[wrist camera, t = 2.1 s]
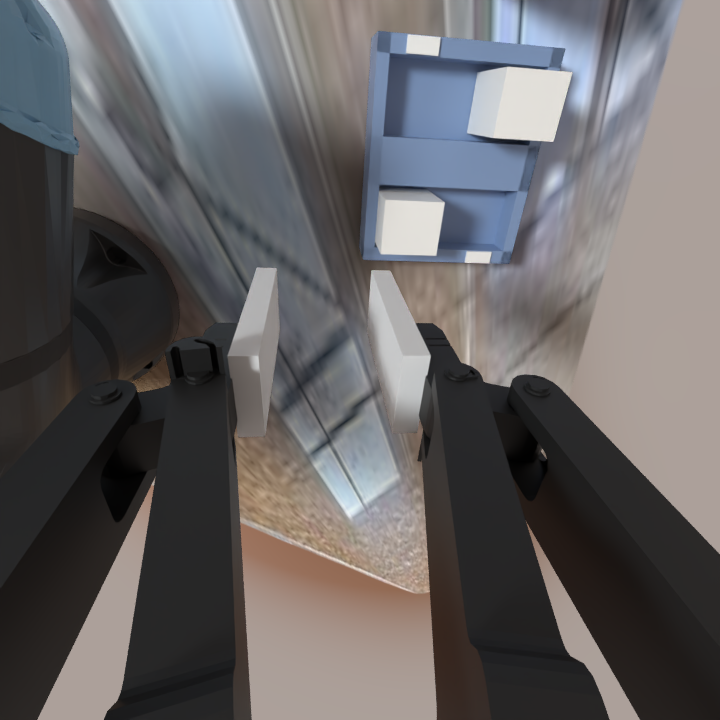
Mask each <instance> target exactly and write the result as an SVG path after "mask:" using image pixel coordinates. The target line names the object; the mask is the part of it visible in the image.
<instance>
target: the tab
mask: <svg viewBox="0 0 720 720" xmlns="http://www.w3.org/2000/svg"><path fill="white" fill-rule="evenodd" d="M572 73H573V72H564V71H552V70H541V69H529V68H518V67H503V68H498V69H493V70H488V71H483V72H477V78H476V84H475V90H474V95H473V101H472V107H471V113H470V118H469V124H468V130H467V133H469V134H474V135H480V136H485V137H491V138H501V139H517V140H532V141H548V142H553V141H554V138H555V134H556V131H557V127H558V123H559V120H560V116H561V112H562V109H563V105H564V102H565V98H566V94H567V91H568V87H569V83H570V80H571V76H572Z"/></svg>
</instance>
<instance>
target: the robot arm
mask: <svg viewBox="0 0 720 720" xmlns="http://www.w3.org/2000/svg"><path fill="white" fill-rule="evenodd" d="M78 150H79V141H78V140H77V139H76V137H75V136H74V135H73V119H72V103H71V87H70V71H69V58H68V53H67V49H66V45H65V42H64V39H63V37H62V35H61V33H60V31H59V29H58V27H57V25H56V23H55V22H54V20H53V19H52V17H51V16H50V15H49V13H48V12H47V11H46V10H45V8H44V7H43V6H42V5H41V4H40V2H39V1H38V0H0V720H37V719H38V717H39V715H40V713H41V710H42V709H43V707H44V705H45V702H46V700H47V698H48V696H49V694H50V692H51V690H52V688H53V686H54V684H55V682H56V680H57V678H58V676H59V674H60V672H61V669H62V668H63V665H64V663H65V661H66V659H67V657H68V655H69V653H70V651H71V649H72V647H73V645H74V643H75V641H76V638H77V637H78V635H79V632H80V630H81V628H82V626H83V624H84V622H85V620H86V618H87V616H88V614H89V612H90V610H91V607H92V606H93V604H94V601H95V600H96V597H97V595H98V593H99V591H100V589H101V587H102V585H103V583H104V581H105V579H106V577H107V575H108V573H109V571H110V569H111V567H112V565H113V563H114V561H115V558H116V556H117V554H118V552H119V550H120V548H121V546H122V544H123V542H124V540H125V538H126V536H127V534H128V532H129V530H130V528H131V525H132V523H133V521H134V519H135V517H136V515H137V513H138V511H139V509H140V507H141V505H142V503H143V501H144V499H145V497H146V495H147V493H148V490H149V488H150V486H151V484H152V482H153V480H154V478H155V476H156V478H155V484H154V490H153V497H152V503H151V510H150V516H149V523H148V529H147V535H146V541H145V548H144V554H143V560H142V567H141V573H140V579H139V586H138V592H137V598H136V605H135V611H134V617H133V624H132V631H131V637H130V643H129V649H128V656H127V662H126V668H125V674H124V681H123V686H122V690H121V693H120V696H119V698H118V701H117V702H116V703H115V704H114V705H113V706H112V707H111V708H110V709H109V710H108V711H107V713H106V716H105V718H104V720H252V719H251V702H250V685H249V667H248V650H247V633H246V618H245V617H246V616H245V598H244V582H243V564H242V548H241V531H240V513H239V495H238V478H237V461H236V446H235V439H234V433H235V429H236V425H237V432H238V437H265V434H266V427H267V420H268V413H269V405H270V398H271V391H272V384H273V376H274V369H275V362H276V354H277V347H278V340H279V333H280V323H279V303H278V283H277V268H257V269H256V272H255V275H254V278H253V281H252V284H251V287H250V290H249V293H248V296H247V299H246V302H245V305H244V308H243V311H242V314H241V317H240V320H239V323H215V324H214V325H212V326H211V327H210V328H208V329H207V330H206V331H205V333H204V335H203V337H190V338H184V339H181V340H178V341H176V342H174V343H172V341H173V339H174V337H175V335H176V332H177V329H178V324H179V304H178V298H177V294H176V291H175V288H174V285H173V283H172V281H171V279H170V277H169V275H168V273H167V271H166V270H165V268H164V267H163V265H162V264H161V262H160V261H159V260H158V258H157V257H156V256H155V255H154V254H153V253H152V251H151V250H150V249H149V248H148V247H147V246H146V245H145V244H143V243H142V242H141V241H140V240H139V239H138V238H137V237H135V236H134V235H133V234H131V233H130V232H129V231H127V230H126V229H124V228H122V227H121V226H119V225H118V224H116V223H114V222H112V221H110V220H108V219H106V218H104V217H102V216H99V215H97V214H94V213H91V212H88V211H85V210H81V209H77V208H73V172H74V155H78ZM367 333H368V337H369V341H370V345H371V349H372V353H373V358H374V362H375V366H376V370H377V374H378V378H379V382H380V386H381V390H382V394H383V398H384V402H385V406H386V410H387V414H388V418H389V422H390V426H391V430H392V433H417V430H418V425H419V419H420V421H421V424H422V426H423V434H422V440H421V445H420V450H419V456H418V461H421V460H422V467H423V483H424V500H425V517H426V534H427V550H428V567H429V584H430V600H431V616H432V634H433V651H434V667H435V684H436V701H437V720H609V717H608V714H607V711H606V708H605V705H604V703H603V699H602V697H601V694H600V692H599V689H598V687H597V685H596V682H595V680H594V678H593V676H592V674H591V673H590V672H589V671H588V669H587V668H586V666H585V665H584V663H582V662H580V661H578V660H576V659H574V658H573V657H571V656H570V655H569V653H568V652H567V651H566V649H565V646H564V644H563V641H562V639H561V635H560V632H559V629H558V626H557V622H556V619H555V616H554V612H553V609H552V606H551V602H550V599H549V596H548V593H547V590H546V586H545V583H544V579H543V576H542V573H541V570H540V566H539V563H538V560H537V557H536V553H535V550H534V547H533V543H532V540H531V537H530V533H529V530H528V527H527V523H528V525H529V527H530V529H531V530H532V532H533V534H534V536H535V537H536V539H537V541H538V542H539V544H540V546H541V548H542V549H543V551H544V553H545V555H546V557H547V558H548V560H549V561H550V563H551V565H552V567H553V569H554V571H555V572H556V574H557V576H558V577H559V579H560V581H561V583H562V584H563V586H564V588H565V590H566V591H567V593H568V595H569V596H570V598H571V600H572V602H573V604H574V605H575V607H576V609H577V610H578V612H579V614H580V616H581V617H582V619H583V621H584V623H585V624H586V626H587V628H588V629H589V631H590V633H591V635H592V637H593V638H594V640H595V642H596V643H597V645H598V647H599V649H600V651H601V652H602V654H603V656H604V658H605V659H606V661H607V663H608V664H609V666H610V668H611V670H612V672H613V673H614V675H615V677H616V678H617V680H618V682H619V683H620V685H621V687H622V689H623V691H624V692H625V694H626V696H627V698H628V699H629V701H630V703H631V705H632V706H633V708H634V710H635V711H636V713H637V715H638V717H639V718H640V720H720V554H719V553H718V552H717V551H716V550H715V549H714V548H713V547H712V546H711V545H710V544H709V543H708V542H707V541H706V540H705V539H704V538H703V536H701V534H700V533H699V532H698V531H697V530H696V529H695V528H694V527H693V526H692V525H691V524H690V523H689V522H688V521H687V520H686V519H685V518H684V517H683V516H682V515H681V514H680V512H679V511H678V510H677V509H676V508H675V507H674V506H672V504H671V503H670V502H669V501H668V500H667V499H666V498H665V497H664V496H663V495H662V494H661V493H660V492H659V491H658V490H657V489H656V488H655V486H654V485H653V484H651V482H650V481H649V480H648V479H647V478H646V477H645V476H644V475H643V474H642V473H641V472H640V471H639V470H638V469H637V468H636V467H635V466H634V465H633V464H632V463H631V461H630V460H628V458H627V457H626V456H625V455H624V454H623V453H622V452H621V451H620V450H619V449H618V448H617V447H616V446H615V445H614V444H613V443H612V442H611V441H610V440H609V439H608V438H607V437H606V435H605V434H604V433H603V432H601V430H600V429H599V428H598V427H597V426H596V425H595V424H594V423H593V422H592V421H591V420H590V419H589V418H588V417H587V416H586V415H585V414H584V413H583V412H582V410H581V409H580V408H579V407H578V406H577V405H576V404H575V403H574V402H573V401H572V400H571V399H570V398H569V397H568V396H567V395H566V394H565V393H564V392H563V391H562V390H561V389H560V388H559V387H558V386H557V385H556V384H554V383H553V382H551V381H549V380H547V379H545V378H543V377H540V376H536V375H520V376H517V377H515V378H514V379H513V380H512V383H511V386H510V387H504V386H499V385H493V384H489V383H485V382H483V379H482V376H481V375H480V373H479V372H478V371H477V370H476V369H474V368H473V367H471V366H469V365H466V364H463V363H461V362H460V360H459V358H458V357H457V355H456V353H455V352H454V350H453V348H452V346H450V343H449V341H448V340H447V338H446V336H445V334H444V333H443V331H442V330H441V329H440V328H438V327H437V326H435V325H434V324H433V323H415V322H414V319H413V317H412V315H411V313H410V311H409V309H408V307H407V305H406V303H405V301H404V299H403V296H402V294H401V292H400V290H399V288H398V286H397V284H396V282H395V280H394V278H393V276H392V273H391V271H386V270H371V283H370V296H369V309H368V322H367ZM171 343H172V344H171ZM164 355H165V356H166V360H167V365H168V369H169V373H170V378H171V383H170V385H169V386H166V387H163V388H159V389H155V390H150V391H145V392H140V393H138V392H137V389H136V387H135V385H134V384H133V383H131V382H132V381H133V380H136V379H138V378H139V377H141V376H143V375H144V374H146V373H147V372H149V371H150V370H151V369H152V368H154V367H155V366H156V365H157V364H158V363H159V361H160V360H161V359H162V358H163V356H164ZM542 449H543V450H544V452H545V454H546V456H547V459H546V458H545V457H544V455H543V454H542V453H541V450H542ZM526 522H527V523H526Z"/></svg>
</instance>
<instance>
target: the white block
mask: <svg viewBox="0 0 720 720" xmlns="http://www.w3.org/2000/svg"><path fill="white" fill-rule="evenodd" d="M444 205H445V202H444V201H442V200H441V199H439V198H438V197H437V196H435V195H434V194H433V193H431V192H430V191H428V190H427V189H411V188H390V187H379V195H378V208H377V221H376V233H375V243H376V245H377V247H378V249H379V252H380V254H391V255H427V256H436V254H437V248H438V242H439V236H440V229H441V223H442V217H443V211H444Z"/></svg>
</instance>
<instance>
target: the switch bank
mask: <svg viewBox="0 0 720 720" xmlns="http://www.w3.org/2000/svg"><path fill="white" fill-rule="evenodd" d="M564 52H565V49H564V48H554V47H543V46H532V45H522V44H511V43H501V42H490V41H479V40H469V39H458V38H448V37H437V36H426V35H416V34H405V33H394V32H384V31H378V32H377V33H376V34H375V35H374V36H373V37H372V39H371V56H370V73H369V89H368V106H367V123H366V140H365V157H364V174H363V191H362V207H361V224H360V241H359V249H360V252H361V255H362V258H363V260H386V261H424V262H463V263H501V264H509V262H510V259H511V255H512V251H513V247H514V243H515V240H516V236H517V232H518V228H519V224H520V220H521V217H522V213H523V209H524V205H525V201H526V197H527V194H528V190H529V186H530V182H531V178H532V175H533V171H534V167H535V163H536V159H537V155H538V152H539V148H540V144H541V141H532V140H517V139H501V138H491V137H485V136H480V135H474V134H469V133H467V130H468V124H469V118H470V113H471V107H472V101H473V95H474V90H475V84H476V78H477V72H483V71H488V70H493V69H498V68H503V67H518V68H529V69H541V70H552V71H560V67H561V64H562V60H563V56H564ZM379 187H390V188H411V189H427V190H428V191H430V192H431V193H433V194H434V195H435V196H437V197H438V198H439V199H441V200H442V201H444V202H445V205H444V211H443V217H442V223H441V229H440V236H439V242H438V248H437V254H436V256H427V255H391V254H380V252H379V249H378V247H377V245H376V243H375V233H376V221H377V208H378V195H379Z"/></svg>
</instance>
